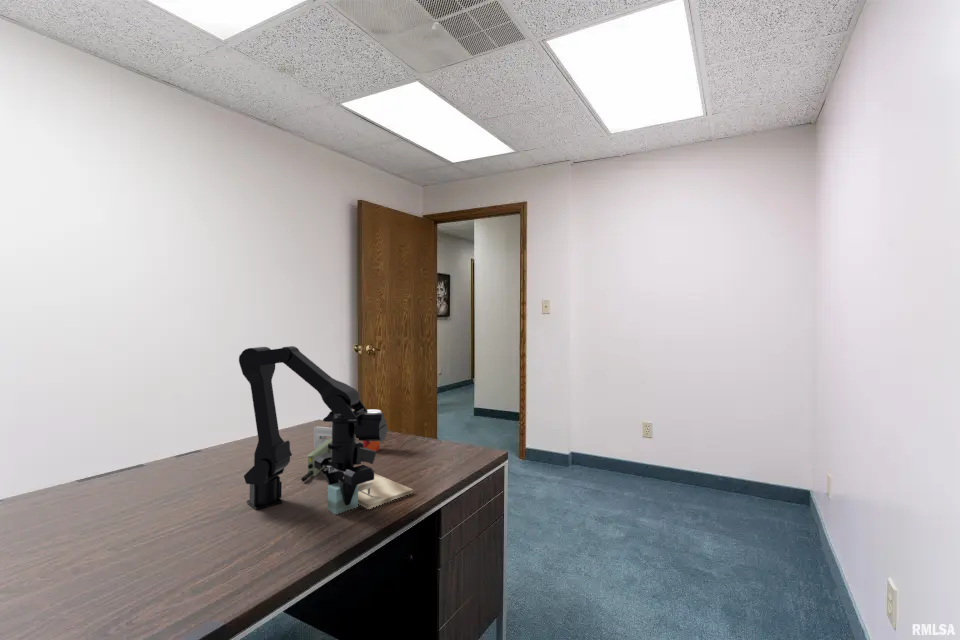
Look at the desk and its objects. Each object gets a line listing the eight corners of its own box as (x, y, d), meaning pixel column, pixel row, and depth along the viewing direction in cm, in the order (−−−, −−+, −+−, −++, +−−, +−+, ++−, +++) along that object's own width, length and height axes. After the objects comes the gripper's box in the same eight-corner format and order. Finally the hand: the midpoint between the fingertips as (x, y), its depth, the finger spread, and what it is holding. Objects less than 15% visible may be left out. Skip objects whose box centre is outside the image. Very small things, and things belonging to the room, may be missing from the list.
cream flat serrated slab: (368, 509, 111) (368, 504, 111) (327, 488, 124) (327, 483, 124) (412, 493, 121) (412, 489, 121) (370, 475, 134) (370, 471, 134)
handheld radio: (338, 457, 153) (309, 484, 128) (329, 457, 153) (298, 484, 128) (338, 437, 153) (308, 460, 128) (328, 437, 153) (297, 460, 128)
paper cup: (369, 454, 155) (370, 414, 155) (355, 450, 160) (356, 411, 159) (387, 449, 161) (387, 410, 161) (373, 445, 166) (373, 408, 166)
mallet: (335, 514, 107) (336, 489, 107) (327, 509, 110) (327, 485, 110) (374, 501, 116) (375, 478, 115) (366, 497, 118) (366, 474, 118)
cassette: (344, 450, 160) (344, 428, 160) (341, 451, 159) (341, 429, 159) (315, 447, 164) (315, 426, 164) (312, 448, 162) (312, 427, 162)
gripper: (393, 440, 111) (392, 503, 111) (352, 427, 123) (351, 484, 123) (353, 449, 102) (352, 518, 102) (313, 434, 115) (312, 495, 115)
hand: (342, 502), depth 111 cm, fingers closed on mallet, 4 cm apart
